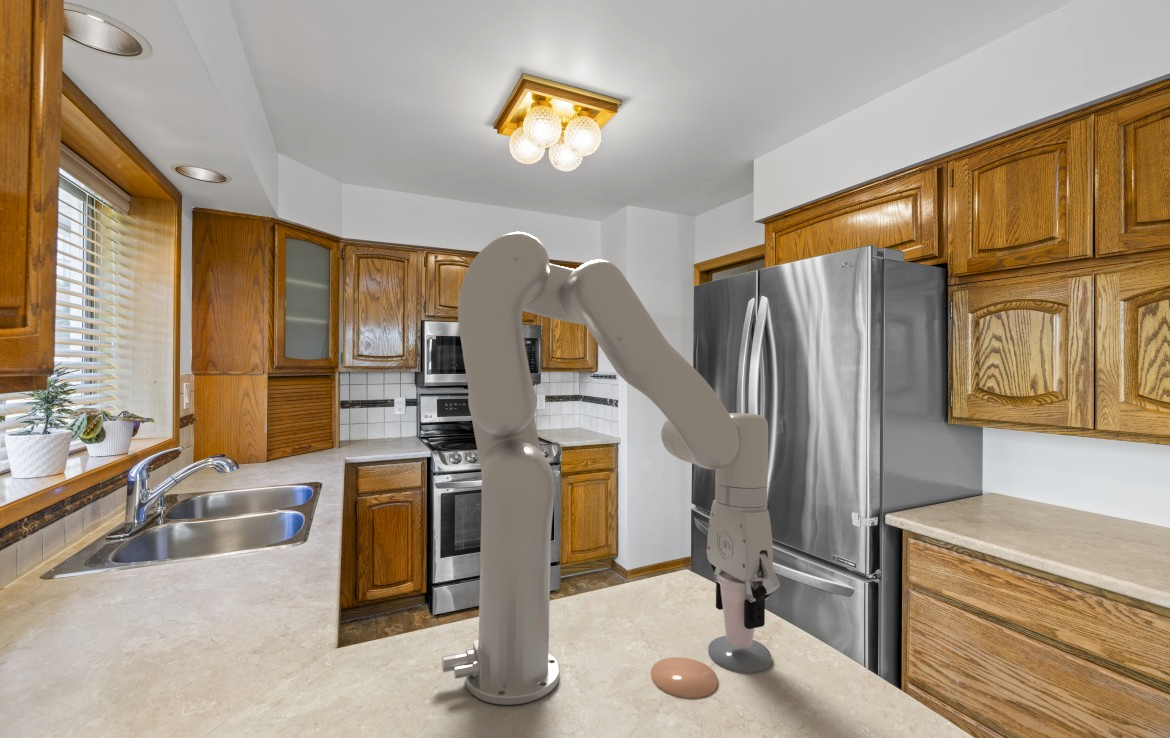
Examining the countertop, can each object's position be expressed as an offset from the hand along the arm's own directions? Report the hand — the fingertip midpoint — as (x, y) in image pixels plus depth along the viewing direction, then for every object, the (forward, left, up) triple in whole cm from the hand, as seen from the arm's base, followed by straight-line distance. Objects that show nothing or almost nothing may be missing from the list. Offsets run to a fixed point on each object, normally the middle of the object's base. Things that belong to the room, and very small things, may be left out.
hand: (739, 615), depth 78 cm
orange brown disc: (-11, -2, -6) cm, 13 cm away
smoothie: (0, 0, -4) cm, 4 cm away
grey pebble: (0, 0, -6) cm, 6 cm away
